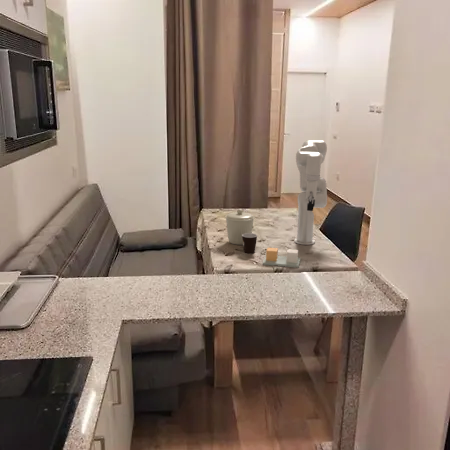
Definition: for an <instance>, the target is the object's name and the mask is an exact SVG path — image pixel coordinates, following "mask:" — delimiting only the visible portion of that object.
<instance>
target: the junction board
mask: <svg viewBox="0 0 450 450" xmlns="http://www.w3.org/2000/svg"><path fill="white" fill-rule="evenodd" d="M298 256H299V249H291V248H289V249H288V248H287V251H286V255H278V258H277V261H268V260H266V255H264V259H263V260H262V265H264V266H273V265H278V266H277V267H284V266H285V268H286V267H287V268H296V267H297V268H299V267H300V262H301V257H298Z"/></svg>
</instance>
